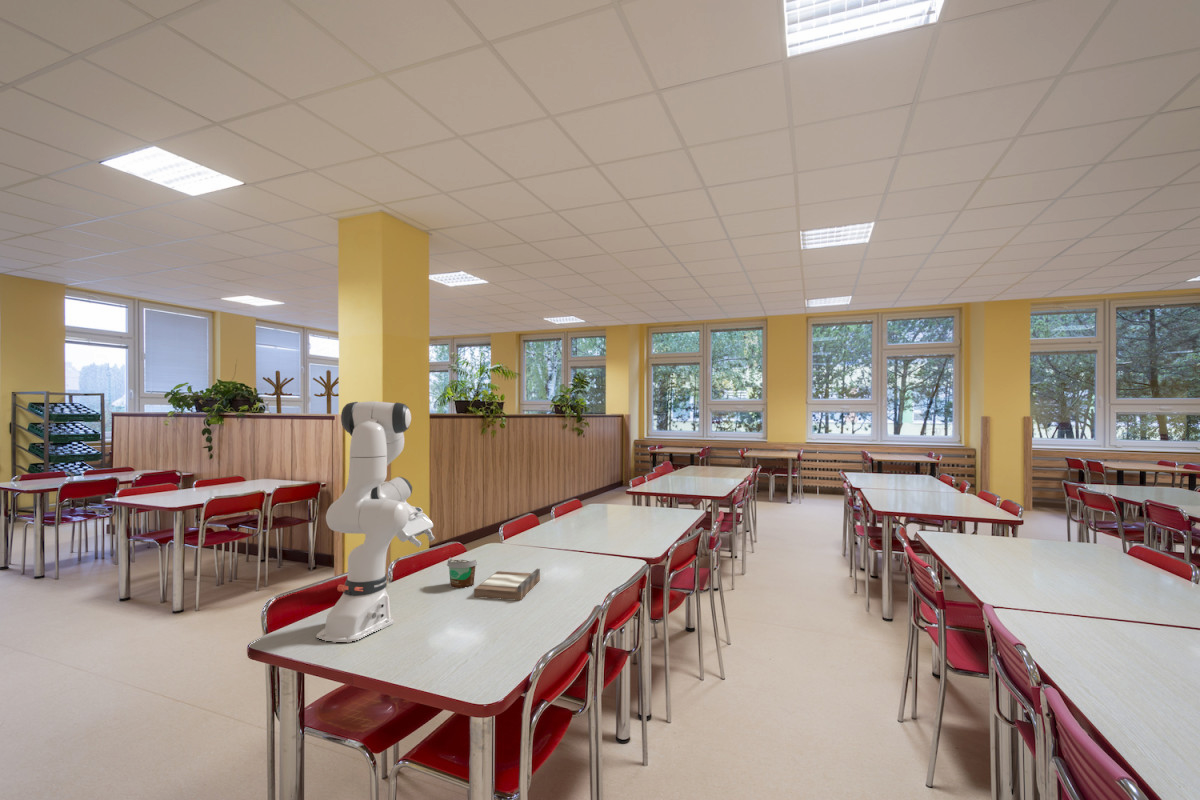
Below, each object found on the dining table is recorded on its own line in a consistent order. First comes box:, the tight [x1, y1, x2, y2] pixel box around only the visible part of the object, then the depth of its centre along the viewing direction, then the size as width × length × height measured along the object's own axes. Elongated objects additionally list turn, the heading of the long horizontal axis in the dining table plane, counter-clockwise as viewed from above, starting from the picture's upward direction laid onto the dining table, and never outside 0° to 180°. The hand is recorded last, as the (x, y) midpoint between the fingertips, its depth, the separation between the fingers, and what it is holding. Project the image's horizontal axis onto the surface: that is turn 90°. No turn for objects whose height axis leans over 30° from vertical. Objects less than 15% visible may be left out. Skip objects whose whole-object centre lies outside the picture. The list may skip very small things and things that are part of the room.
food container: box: [446, 557, 478, 589], centre depth 197 cm, size 12×6×10 cm, turn 73°
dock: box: [473, 568, 541, 601], centre depth 194 cm, size 22×18×5 cm
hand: (426, 542), depth 200 cm, fingers open, 8 cm apart
